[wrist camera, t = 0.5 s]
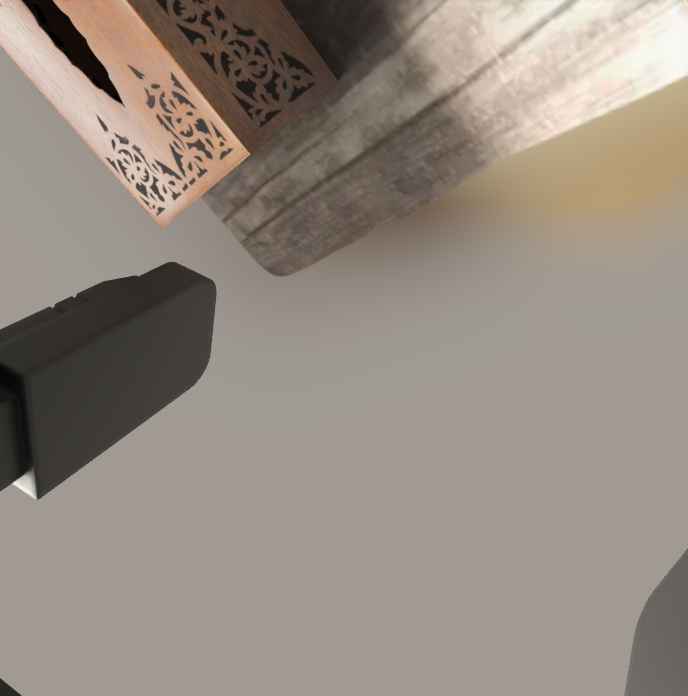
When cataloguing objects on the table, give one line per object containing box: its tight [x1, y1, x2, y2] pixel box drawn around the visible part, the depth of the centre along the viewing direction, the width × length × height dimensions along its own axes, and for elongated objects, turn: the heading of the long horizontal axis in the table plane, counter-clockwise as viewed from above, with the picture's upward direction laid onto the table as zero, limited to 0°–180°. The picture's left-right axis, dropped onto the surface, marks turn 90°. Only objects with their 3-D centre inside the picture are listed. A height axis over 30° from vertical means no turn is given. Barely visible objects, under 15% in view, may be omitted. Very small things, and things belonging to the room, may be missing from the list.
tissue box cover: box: [0, 0, 338, 228], centre depth 43 cm, size 26×14×10 cm, turn 47°
